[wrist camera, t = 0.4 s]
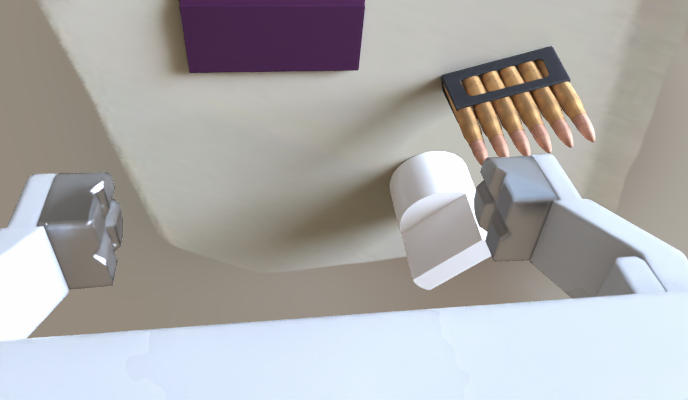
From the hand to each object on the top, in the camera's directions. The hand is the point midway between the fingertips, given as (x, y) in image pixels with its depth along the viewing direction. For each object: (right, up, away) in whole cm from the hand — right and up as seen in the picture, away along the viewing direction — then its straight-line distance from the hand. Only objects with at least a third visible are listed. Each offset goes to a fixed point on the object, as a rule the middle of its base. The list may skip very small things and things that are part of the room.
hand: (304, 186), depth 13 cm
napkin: (-5, +16, +35) cm, 39 cm away
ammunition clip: (+15, +12, +43) cm, 47 cm away
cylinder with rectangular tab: (+10, +2, +53) cm, 55 cm away
